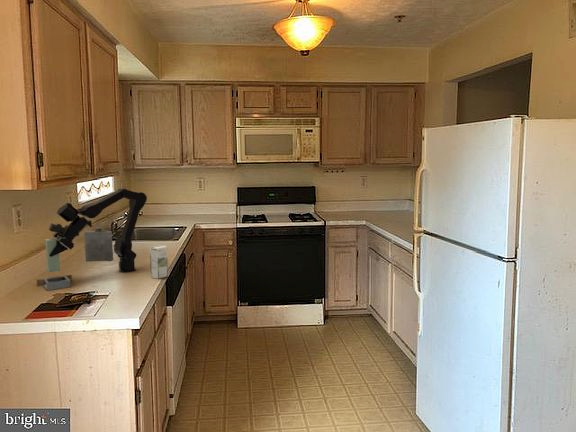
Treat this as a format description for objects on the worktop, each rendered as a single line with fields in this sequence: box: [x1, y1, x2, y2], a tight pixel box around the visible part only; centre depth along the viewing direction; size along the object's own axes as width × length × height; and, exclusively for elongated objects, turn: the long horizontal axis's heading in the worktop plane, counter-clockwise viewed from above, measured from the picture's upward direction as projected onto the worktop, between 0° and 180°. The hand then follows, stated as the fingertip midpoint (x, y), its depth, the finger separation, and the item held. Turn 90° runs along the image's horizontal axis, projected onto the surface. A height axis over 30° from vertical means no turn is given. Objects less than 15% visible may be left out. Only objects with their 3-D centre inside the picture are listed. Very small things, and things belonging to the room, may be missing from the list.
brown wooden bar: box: [36, 274, 73, 287], centre depth 213 cm, size 14×2×2 cm, turn 125°
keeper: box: [43, 275, 71, 291], centre depth 207 cm, size 9×9×3 cm
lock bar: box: [44, 237, 61, 273], centre depth 211 cm, size 4×4×14 cm
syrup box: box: [149, 244, 169, 280], centre depth 221 cm, size 6×6×14 cm
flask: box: [83, 226, 114, 262], centre depth 257 cm, size 4×14×18 cm, turn 93°
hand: (49, 255), depth 210 cm, fingers closed on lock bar, 4 cm apart
